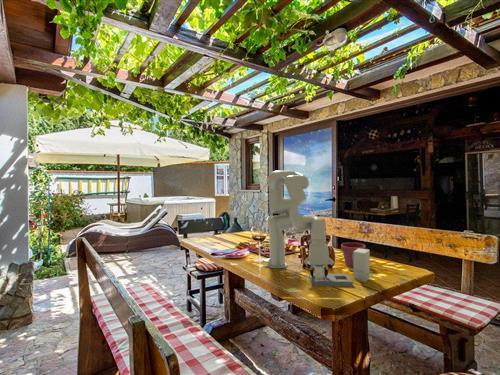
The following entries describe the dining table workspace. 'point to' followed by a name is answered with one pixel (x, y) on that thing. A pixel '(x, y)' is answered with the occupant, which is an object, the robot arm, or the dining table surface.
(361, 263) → the skincare box
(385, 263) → the dining table surface
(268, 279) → the dining table surface
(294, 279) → the dining table surface
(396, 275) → the dining table surface
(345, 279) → the socket panel
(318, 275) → the plug
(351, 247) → the plant pot
